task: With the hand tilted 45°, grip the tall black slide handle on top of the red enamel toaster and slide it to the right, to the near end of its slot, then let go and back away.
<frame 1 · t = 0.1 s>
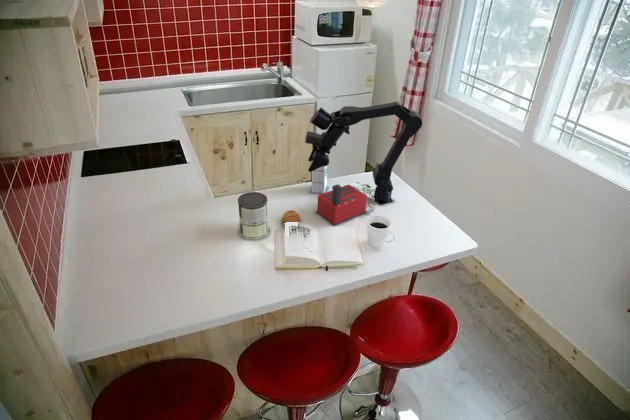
hand: (309, 166, 176), 15 cm above the worktop, tool tilted 35°, fingers open, 9 cm apart
syrup box: (318, 190, 190), on the worktop
toaster: (341, 212, 175), on the worktop
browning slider: (336, 194, 163), point 12 cm above the worktop, slide at 0.0 cm
pastry: (291, 223, 168), on the worktop
coffee can: (254, 232, 162), on the worktop
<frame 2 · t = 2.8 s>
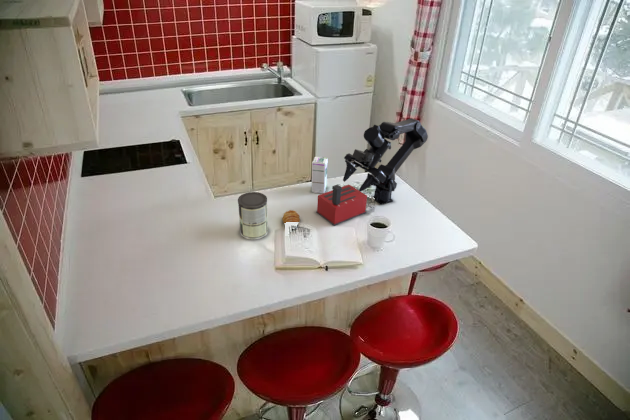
hand: (351, 185, 166), 13 cm above the worktop, tool tilted 45°, fingers open, 9 cm apart
nothing on the worktop moved.
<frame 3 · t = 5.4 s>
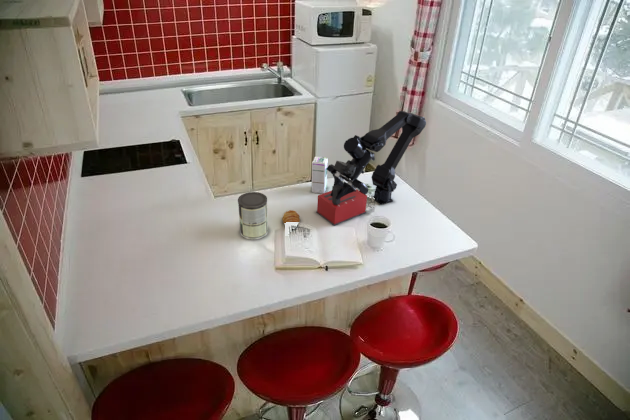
hand: (333, 197, 163), 11 cm above the worktop, tool tilted 45°, fingers closed on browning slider, 2 cm apart
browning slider: (336, 194, 163), point 12 cm above the worktop, slide at 0.0 cm, touching gripper
everything else where it was.
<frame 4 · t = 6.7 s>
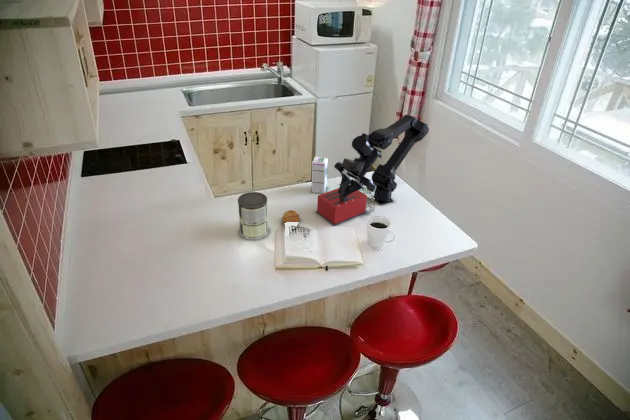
hand: (341, 194, 165), 11 cm above the worktop, tool tilted 45°, fingers closed on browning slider, 2 cm apart
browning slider: (344, 192, 165), point 12 cm above the worktop, slide at 3.6 cm, touching gripper
everything else where it was.
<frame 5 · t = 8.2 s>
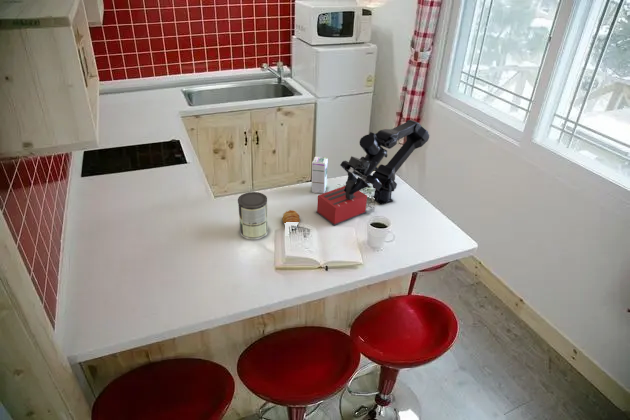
hand: (347, 192, 167), 11 cm above the worktop, tool tilted 45°, fingers closed on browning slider, 2 cm apart
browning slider: (350, 190, 167), point 12 cm above the worktop, slide at 6.6 cm, touching gripper
everything else where it was.
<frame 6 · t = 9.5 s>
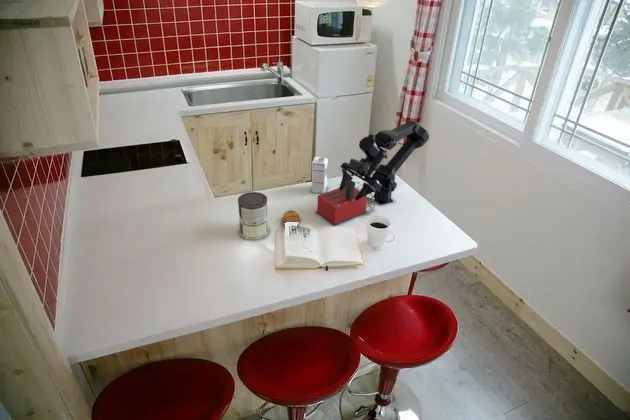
hand: (347, 194, 167), 10 cm above the worktop, tool tilted 45°, fingers open, 9 cm apart
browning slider: (349, 190, 167), point 12 cm above the worktop, slide at 6.5 cm
everything else where it was.
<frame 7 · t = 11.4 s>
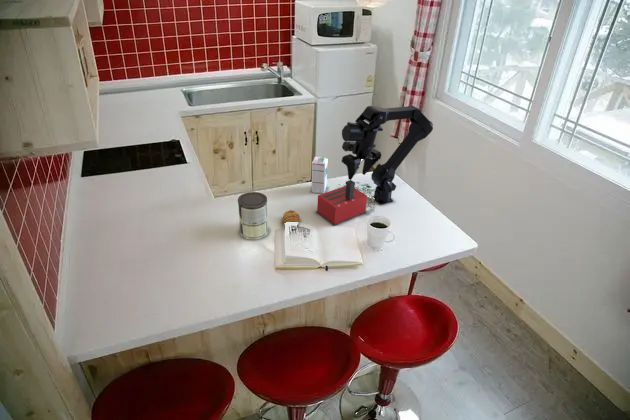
hand: (356, 176, 173), 13 cm above the worktop, tool pointing down, fingers open, 9 cm apart
nothing on the worktop moved.
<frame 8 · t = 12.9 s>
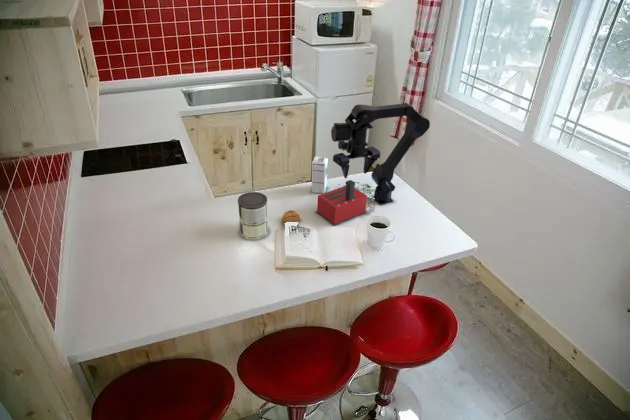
hand: (355, 175, 174), 13 cm above the worktop, tool pointing down, fingers open, 9 cm apart
nothing on the worktop moved.
at the end: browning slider slide at 6.5 cm; the gripper is holding nothing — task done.
